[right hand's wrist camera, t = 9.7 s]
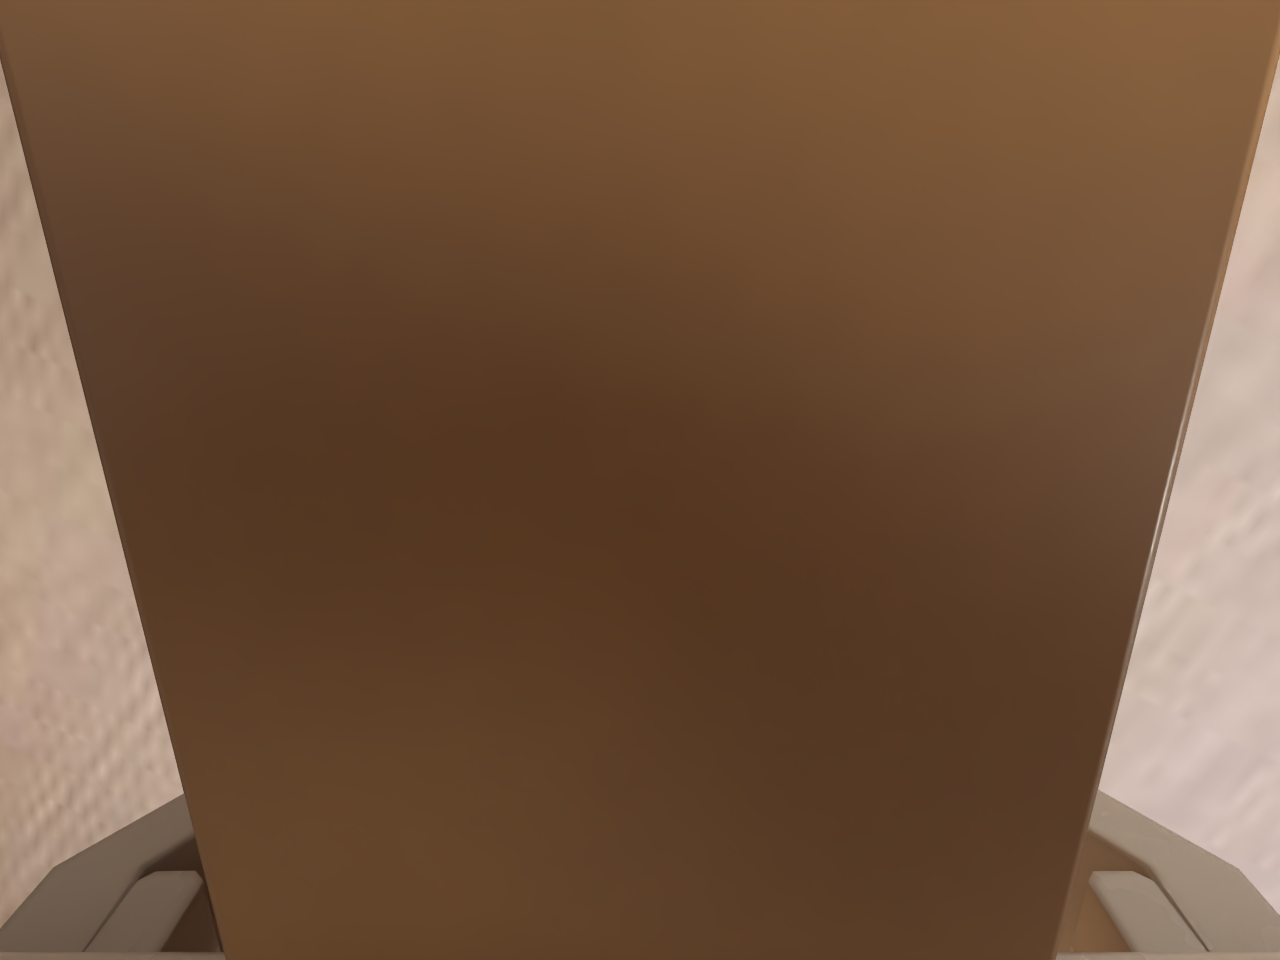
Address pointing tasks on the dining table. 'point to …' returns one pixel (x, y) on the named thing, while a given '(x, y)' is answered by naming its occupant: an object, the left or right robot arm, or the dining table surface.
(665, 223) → the bar
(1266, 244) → the dining table surface
